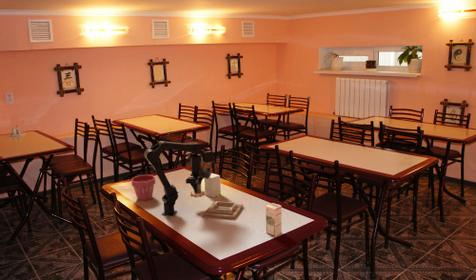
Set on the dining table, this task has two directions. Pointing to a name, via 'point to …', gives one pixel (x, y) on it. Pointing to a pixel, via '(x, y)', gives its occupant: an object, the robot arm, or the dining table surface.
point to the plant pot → (143, 186)
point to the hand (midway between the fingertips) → (197, 190)
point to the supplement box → (212, 185)
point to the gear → (198, 192)
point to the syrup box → (273, 219)
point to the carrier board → (223, 210)
